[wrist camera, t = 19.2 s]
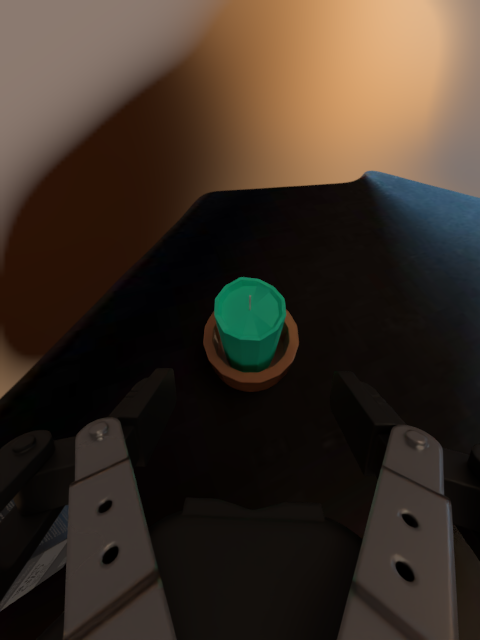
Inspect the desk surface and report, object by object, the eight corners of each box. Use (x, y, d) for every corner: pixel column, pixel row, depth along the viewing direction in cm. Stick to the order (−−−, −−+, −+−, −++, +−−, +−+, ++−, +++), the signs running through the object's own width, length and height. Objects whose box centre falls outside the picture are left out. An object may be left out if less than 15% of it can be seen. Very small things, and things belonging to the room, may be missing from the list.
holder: (250, 303, 32) (250, 280, 27) (307, 351, 28) (318, 334, 24) (194, 350, 29) (184, 334, 24) (250, 411, 25) (250, 405, 21)
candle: (220, 335, 29) (204, 274, 18) (265, 323, 29) (274, 258, 19) (231, 380, 26) (219, 341, 15) (281, 367, 27) (302, 320, 16)
